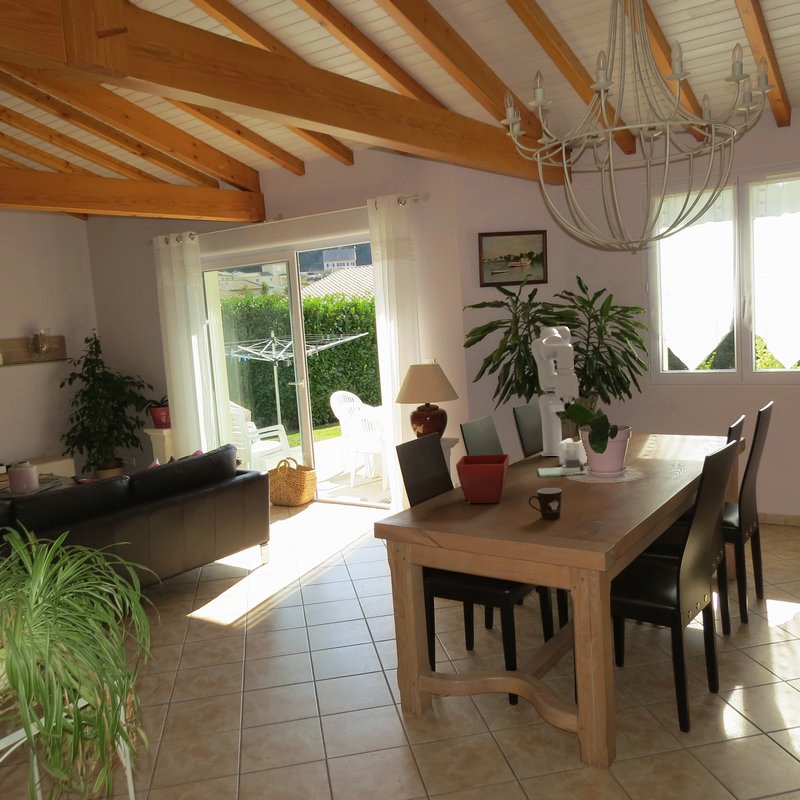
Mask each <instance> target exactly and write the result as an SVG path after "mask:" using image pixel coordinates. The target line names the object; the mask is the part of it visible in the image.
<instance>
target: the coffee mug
mask: <svg viewBox="0 0 800 800" xmlns="http://www.w3.org/2000/svg"><path fill="white" fill-rule="evenodd" d="M562 491H563V490H562V489H561V488H557V487H545V488H544V487H543V488H540V489H538V490H537V491H536V493H537V495H533V496H530V497H529V498H528V504H529V506H530V507H531V508H532V509H535V510H536V511H538V512H540V515H541V520H544V521H558V520H560V518H561V510H562V509H561V508H562ZM532 499H537V500H538V503H539V508H537V507H536V506H534V505H532V503H531V501H532Z"/></svg>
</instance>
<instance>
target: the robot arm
mask: <svg viewBox="0 0 800 800" xmlns="http://www.w3.org/2000/svg"><path fill="white" fill-rule="evenodd" d="M539 334H540V335H539V338H535V339H533V340H532V341H531V345H530V347H531V354H532V355H533V358H534V360H535V362H536V367H537V372H538V373H537V375H538V383H539V387H540V389H541V390H542V391H544V392H548V393H544V394H542V395H540V396H539V398H538V407H539V411H540V418H541V428H542V429H541V430H542V445H543V446H542V447H543V448H542V449H543V451H541V452H540V455H542V457H545V456H557V457H559V448H558V445H559V443H560V442H562V441H563V437H562V435H563V434H562V422H561V421H562V420H561V418H560V417H559V416H558V415H557V414H556V413H557V412H566V411H565V410H566V409H567V408H568V407H569V406H571V405H572V404H574V405H575V400H577V399H580V395H579V394H580V391H579V381H578V377H577V374H576V373H575V365H574V363H575V362H574V346H573V345H572V344H571V343H570V342H571V337H572V335H571V331H570V329H569V328H568V327H567V326H565V325H561V326H548V327H545V328H543V329H542V330H541V331H540V333H539ZM554 361H556V369H555V362H554ZM549 391H550V392H549ZM552 391H554V392H552Z"/></svg>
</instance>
